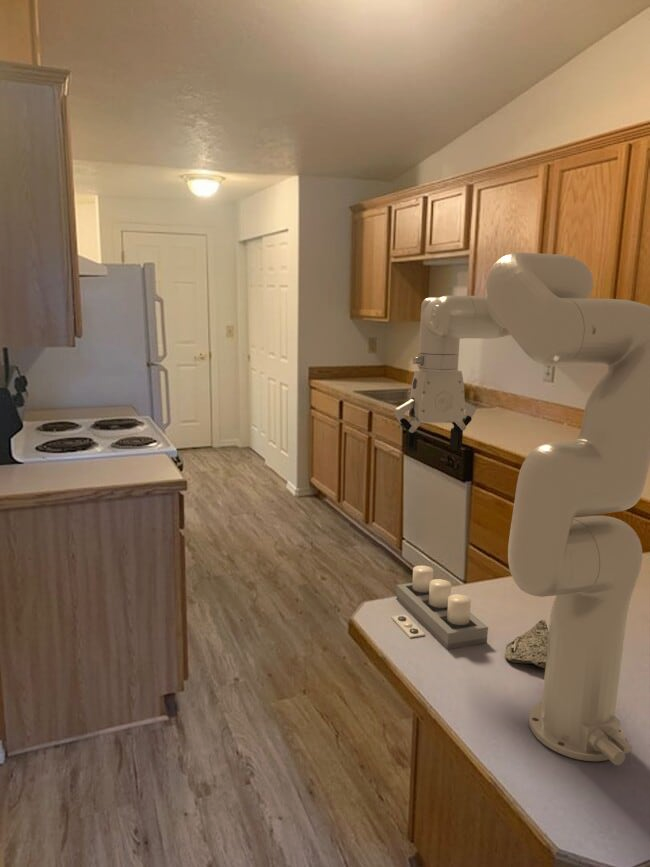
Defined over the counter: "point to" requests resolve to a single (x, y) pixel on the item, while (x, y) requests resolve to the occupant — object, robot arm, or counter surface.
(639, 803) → the counter surface
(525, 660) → the rock sample
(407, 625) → the card
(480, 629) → the button board
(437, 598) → the button mid
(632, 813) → the counter surface
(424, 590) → the button far
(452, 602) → the button near
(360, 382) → the counter surface
